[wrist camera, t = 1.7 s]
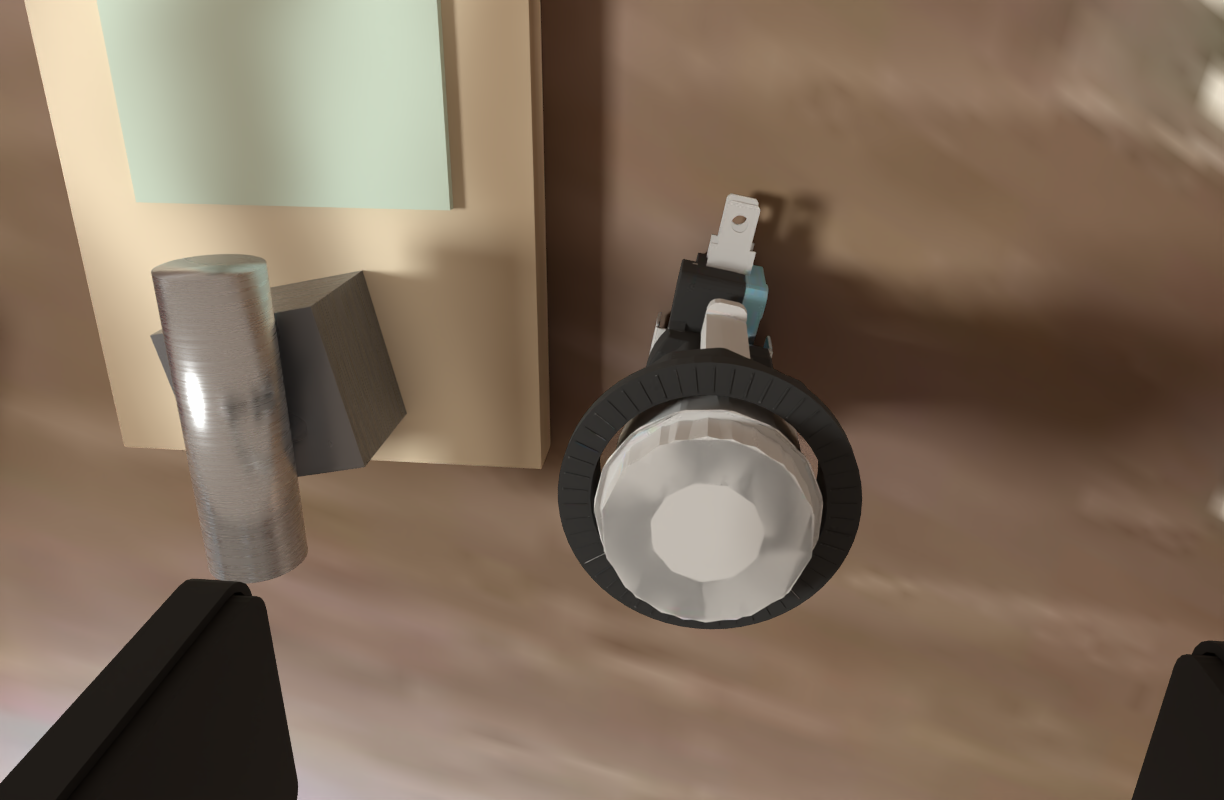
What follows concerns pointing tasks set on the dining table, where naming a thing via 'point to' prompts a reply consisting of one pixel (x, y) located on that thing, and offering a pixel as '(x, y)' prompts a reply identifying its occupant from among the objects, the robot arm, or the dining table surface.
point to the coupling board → (319, 188)
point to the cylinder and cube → (269, 398)
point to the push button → (711, 462)
